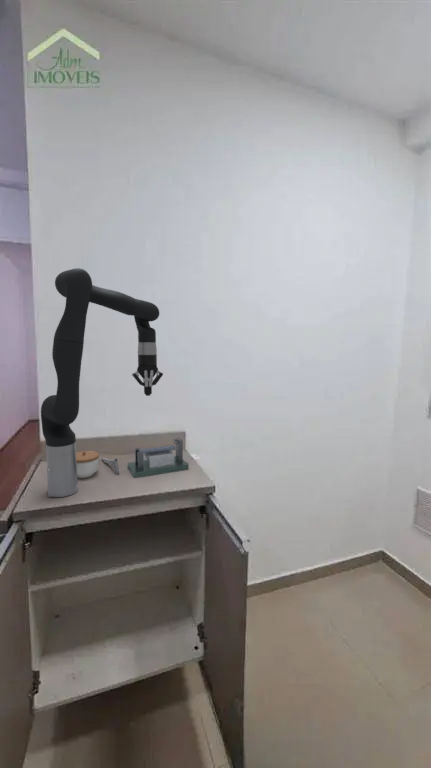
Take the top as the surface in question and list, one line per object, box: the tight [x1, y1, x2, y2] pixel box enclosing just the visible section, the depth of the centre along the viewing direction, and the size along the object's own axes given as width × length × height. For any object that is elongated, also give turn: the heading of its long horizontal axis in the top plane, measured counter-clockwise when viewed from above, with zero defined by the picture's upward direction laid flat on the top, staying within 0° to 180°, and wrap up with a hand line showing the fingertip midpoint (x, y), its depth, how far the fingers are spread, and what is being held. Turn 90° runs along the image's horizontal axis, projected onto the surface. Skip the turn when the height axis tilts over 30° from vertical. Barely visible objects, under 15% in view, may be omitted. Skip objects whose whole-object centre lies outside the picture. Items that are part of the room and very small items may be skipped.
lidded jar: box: [76, 450, 100, 479], centre depth 134 cm, size 11×11×9 cm
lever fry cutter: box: [127, 437, 189, 479], centre depth 141 cm, size 22×12×11 cm, turn 115°
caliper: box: [101, 457, 120, 475], centre depth 143 cm, size 20×1×6 cm, turn 34°
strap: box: [138, 444, 176, 455], centre depth 141 cm, size 14×3×1 cm, turn 115°
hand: (148, 395), depth 145 cm, fingers closed
